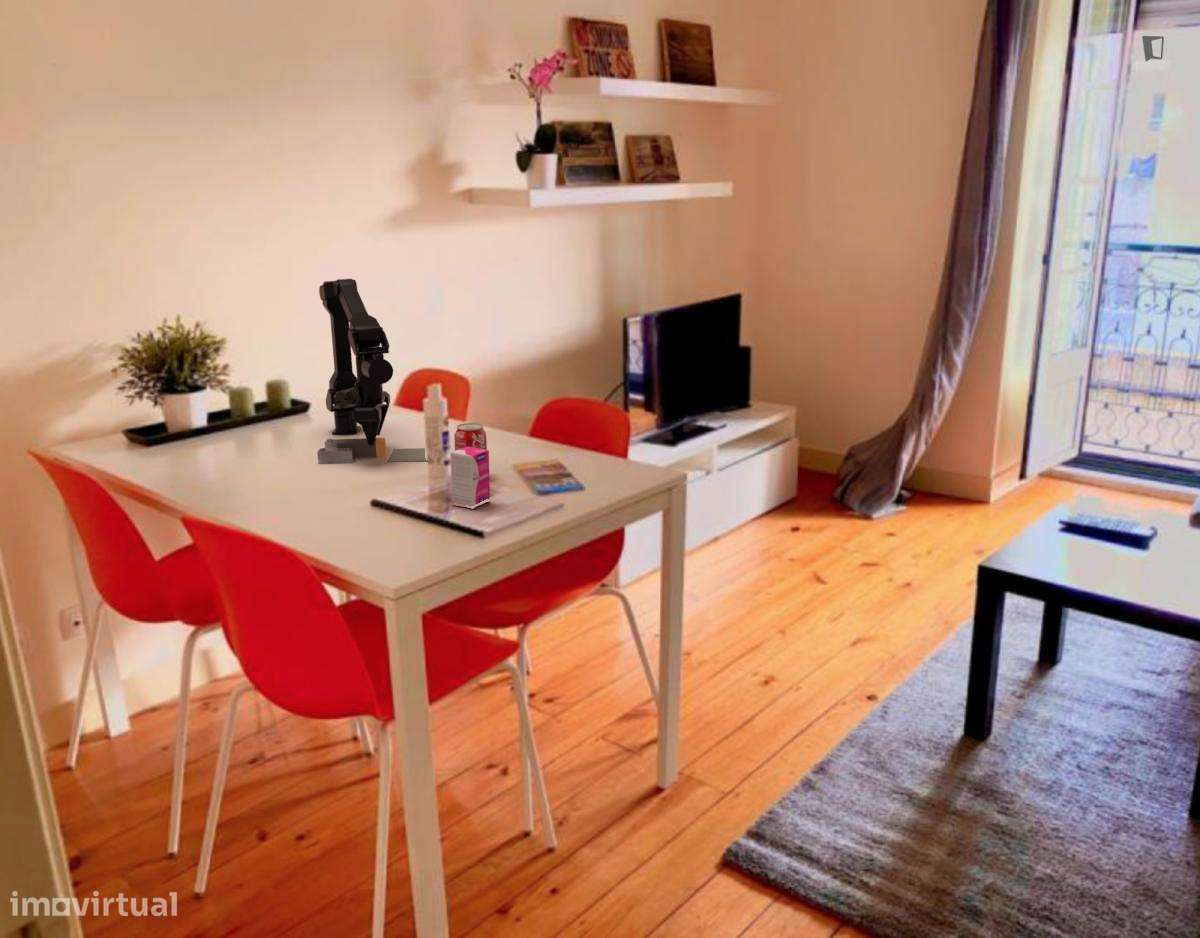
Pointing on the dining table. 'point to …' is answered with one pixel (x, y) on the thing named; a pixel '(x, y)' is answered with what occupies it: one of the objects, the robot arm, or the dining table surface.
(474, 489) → the supplement box
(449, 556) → the dining table surface
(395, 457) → the mat
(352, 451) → the housing
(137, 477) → the dining table surface
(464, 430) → the soda can
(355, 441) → the grey orange block
